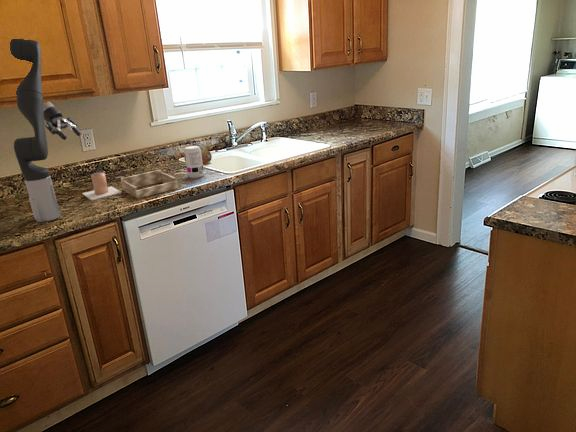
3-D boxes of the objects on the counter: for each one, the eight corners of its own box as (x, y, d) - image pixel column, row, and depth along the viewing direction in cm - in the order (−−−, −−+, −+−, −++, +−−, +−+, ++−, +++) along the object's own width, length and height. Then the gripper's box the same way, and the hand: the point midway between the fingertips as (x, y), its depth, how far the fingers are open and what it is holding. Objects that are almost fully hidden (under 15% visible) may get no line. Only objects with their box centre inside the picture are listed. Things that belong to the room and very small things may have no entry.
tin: (185, 166, 252) (183, 152, 249) (185, 165, 255) (183, 150, 252) (212, 163, 256) (210, 148, 253) (211, 162, 258) (210, 147, 255)
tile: (91, 200, 204) (91, 199, 204) (82, 194, 214) (82, 193, 214) (122, 193, 212) (121, 192, 212) (111, 187, 222) (111, 186, 222)
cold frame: (137, 198, 203) (135, 185, 201) (123, 190, 216) (120, 178, 214) (178, 188, 214) (176, 175, 212) (162, 180, 228) (160, 169, 225)
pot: (100, 194, 209) (97, 175, 206) (92, 193, 212) (88, 174, 209) (111, 191, 214) (107, 172, 211) (102, 190, 217) (98, 171, 214)
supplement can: (185, 178, 230) (180, 149, 224) (192, 173, 237) (188, 145, 232) (199, 178, 227) (195, 149, 222) (206, 173, 235) (203, 145, 229)
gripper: (38, 108, 201) (63, 134, 201) (63, 103, 213) (87, 128, 213) (32, 120, 205) (57, 145, 205) (57, 115, 217) (81, 139, 217)
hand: (73, 136), depth 209 cm, fingers open, 8 cm apart
